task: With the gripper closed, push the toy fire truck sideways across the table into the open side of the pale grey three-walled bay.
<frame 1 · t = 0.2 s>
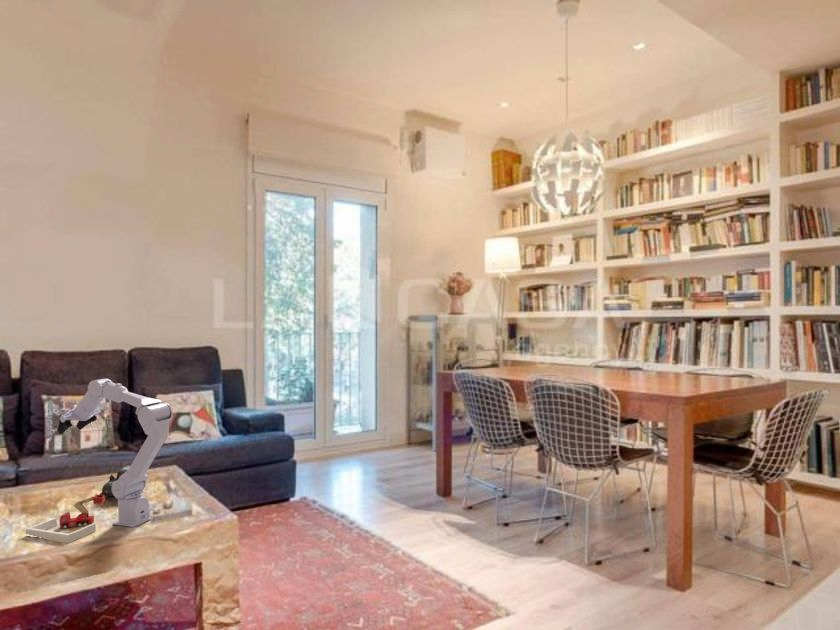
hand: (69, 429, 211), 31 cm above the table, tool tilted 45°, fingers open, 7 cm apart
toy fire truck: (82, 525, 201), on the table
dark grey lumpy shape: (120, 497, 230), on the table
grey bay: (61, 533, 193), on the table
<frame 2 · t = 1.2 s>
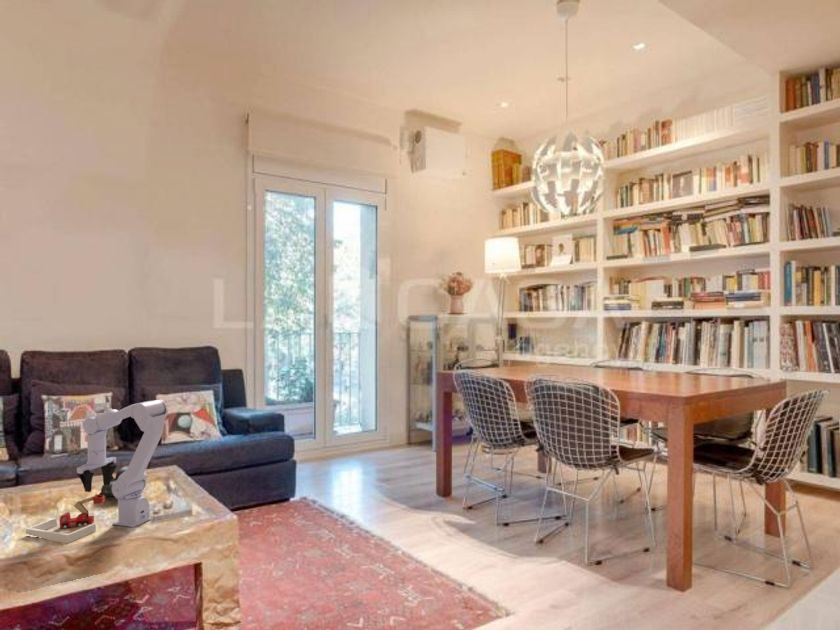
hand: (97, 488, 207), 10 cm above the table, tool pointing down, fingers open, 7 cm apart
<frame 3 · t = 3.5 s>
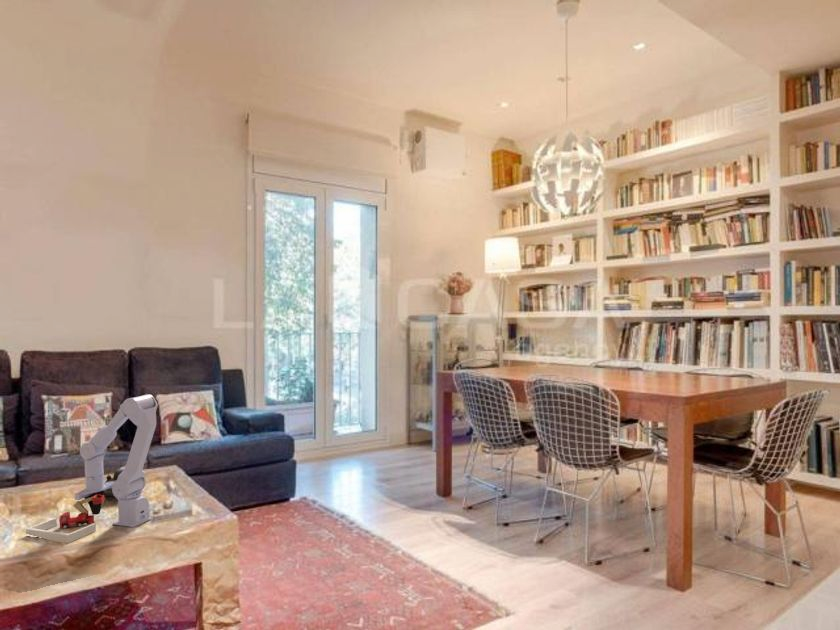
hand: (96, 513, 206), 2 cm above the table, tool pointing down, fingers closed
toy fire truck: (82, 525, 201), on the table, touching gripper
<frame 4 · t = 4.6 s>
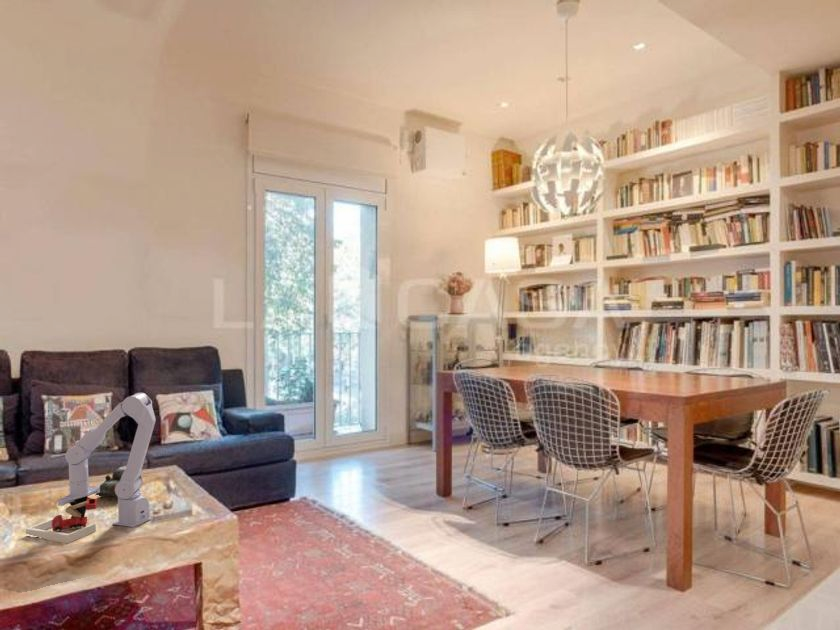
hand: (80, 519, 200), 2 cm above the table, tool pointing down, fingers closed, pressing on toy fire truck
toy fire truck: (76, 526, 198), on the table, touching gripper
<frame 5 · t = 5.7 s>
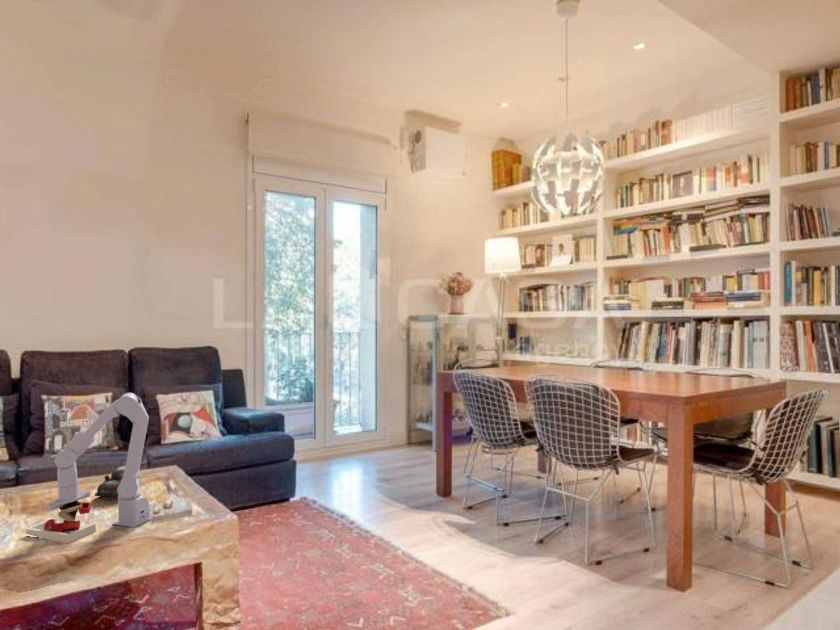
hand: (70, 524, 196), 2 cm above the table, tool pointing down, fingers closed, pressing on toy fire truck
toy fire truck: (68, 531, 195), on the table, touching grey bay, gripper
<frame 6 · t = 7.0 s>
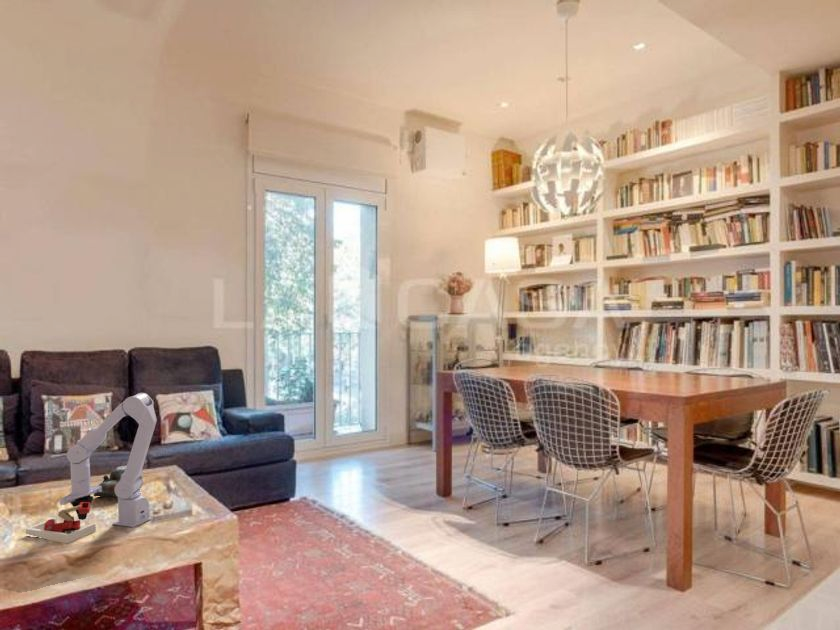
hand: (82, 518, 201), 2 cm above the table, tool pointing down, fingers closed
toy fire truck: (69, 530, 195), on the table, touching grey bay
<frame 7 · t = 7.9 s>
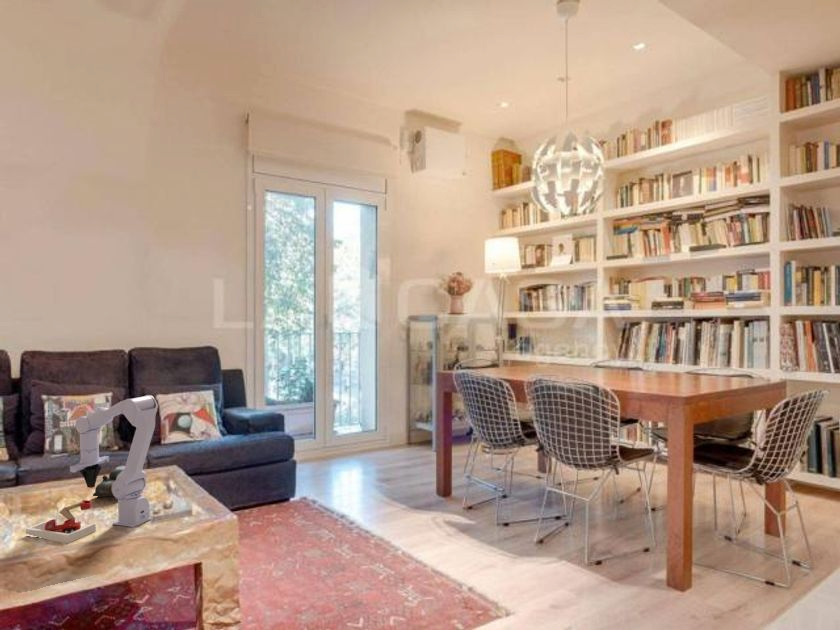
hand: (91, 487, 209), 10 cm above the table, tool pointing down, fingers closed
toy fire truck: (69, 532, 195), on the table
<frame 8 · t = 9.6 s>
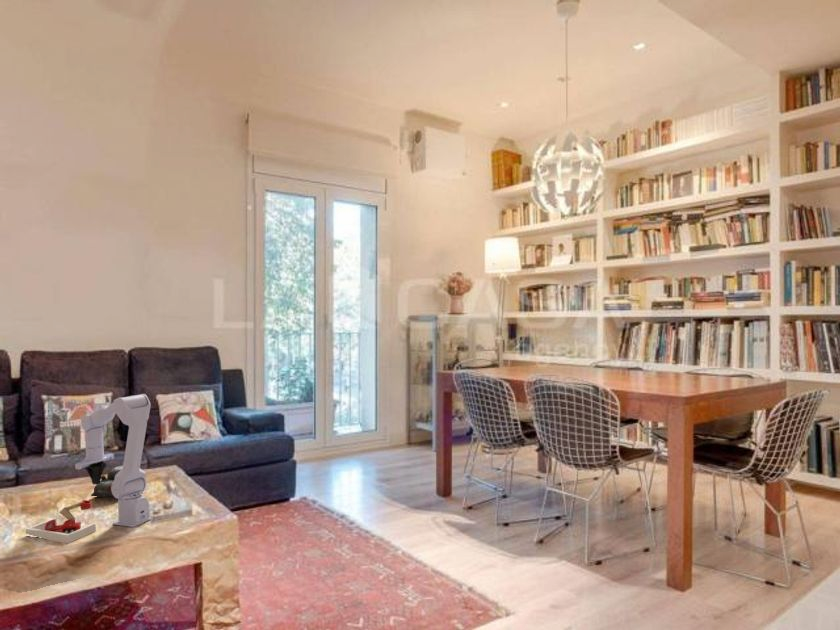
hand: (96, 483, 213), 10 cm above the table, tool pointing down, fingers closed
at the end: toy fire truck inside the target area on the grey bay (2.7 cm from its centre), point 0.0 cm above the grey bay's base; toy fire truck moved 6.2 cm from its start; toy fire truck tilted 0° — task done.
